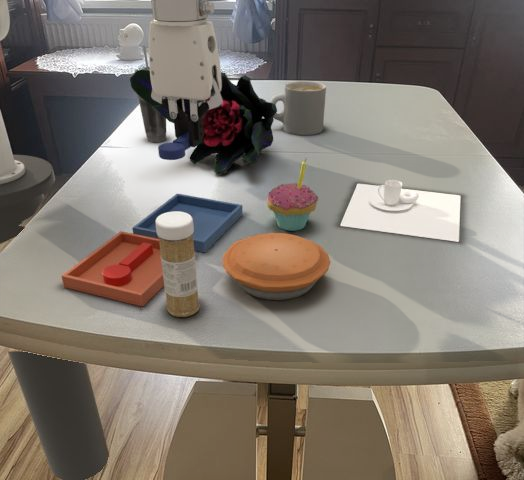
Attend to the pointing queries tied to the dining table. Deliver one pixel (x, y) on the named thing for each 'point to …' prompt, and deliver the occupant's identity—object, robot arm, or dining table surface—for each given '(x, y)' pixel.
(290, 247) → the pie
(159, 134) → the beverage cup
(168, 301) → the sprinkles bottle
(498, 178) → the dining table surface
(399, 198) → the teacup and saucer
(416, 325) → the dining table surface
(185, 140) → the blue spoon
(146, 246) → the red spoon
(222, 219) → the blue tray
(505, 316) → the dining table surface
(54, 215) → the dining table surface
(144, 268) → the terracotta tray
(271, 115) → the decorative plant
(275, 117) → the coffee mug
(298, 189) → the cupcake
